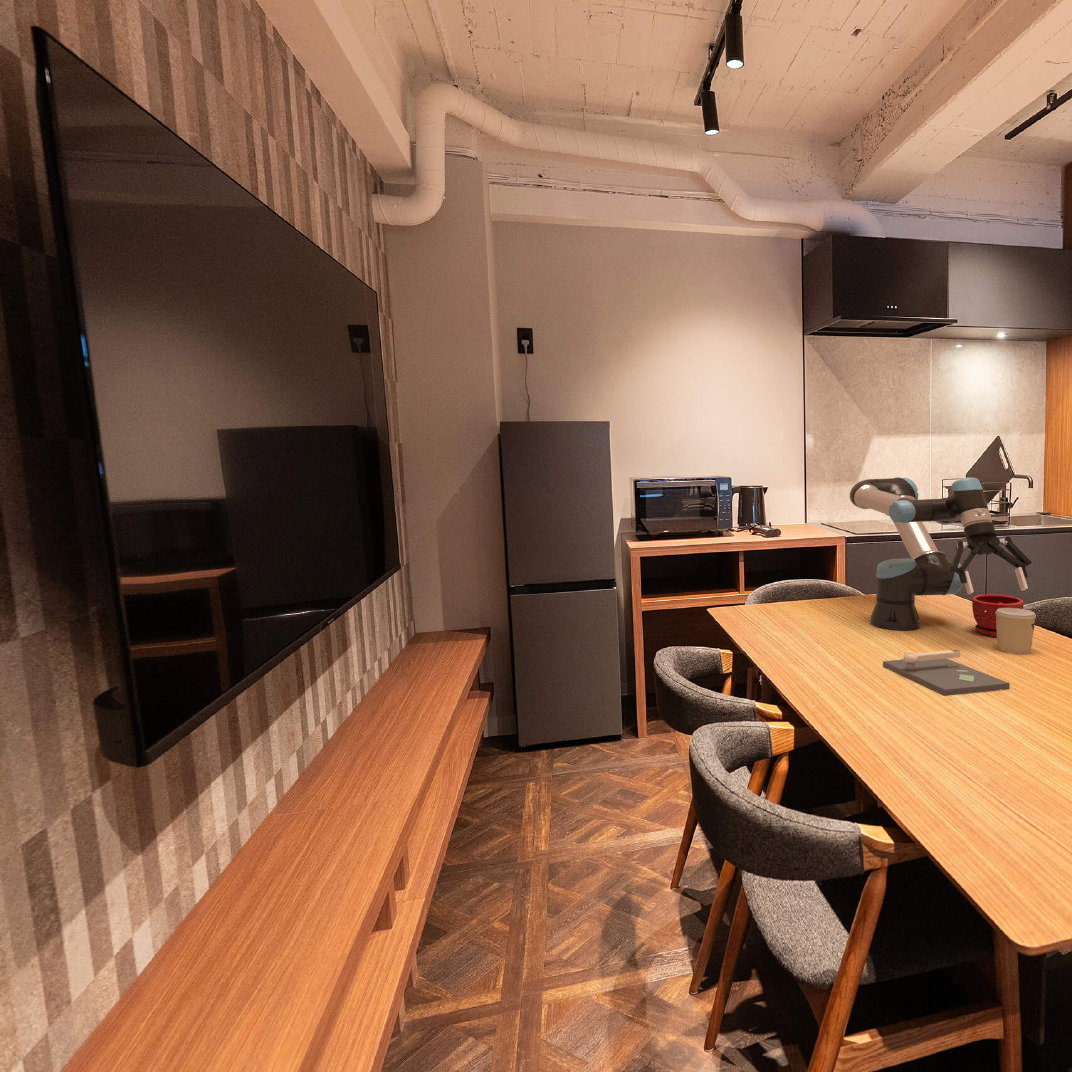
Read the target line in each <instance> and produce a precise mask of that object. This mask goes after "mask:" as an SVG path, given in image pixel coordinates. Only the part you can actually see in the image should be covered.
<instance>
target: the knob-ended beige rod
mask: <svg viewBox="0 0 1072 1072" xmlns="http://www.w3.org/2000/svg"><path fill="white" fill-rule="evenodd" d="M946 658H947V659H955V658H956V659H957V658H961V651H960V650H958V649H950V650H949V649H948V650H937V651H927V652H916V653H914V652H904V653H903V659H904V661H905V662H909V663H917V661H925V660H936V659H946Z"/></svg>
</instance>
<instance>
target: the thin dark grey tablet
mask: <svg viewBox="0 0 1072 1072" xmlns="http://www.w3.org/2000/svg"><path fill="white" fill-rule="evenodd" d="M882 667H884V668H885V669H888V670H889V671H892V672H894V673H896V674H898V675H900V676H902V677H904V678H907V679H909V680H911V681H913V682H915V683H918V684H920V685H922V686H924V687H925V688H928V689H930V690H933V691H935V692H937V693H938V694H940V695H943V696H951V695H960V694H961V695H963V694H971V693H981V692H982V691H983V692H989V691H990V692H991V691H1001V690H1000V689H1003V690H1009V689H1010V686H1011V685H1010V684H1011V683H1010V682H1008V681H1005V680H1003V679H1000V678H998V677H995V676H993V675H989V674H988V673H985V672H982V671H980V670H977V669H975V668H972V667H969V666H967V665H964V664H962V663H959V662H957V661H954V660H952V659H950V658H946V659H936V660H925V661H917V663H909V662H905V661H904V658H903V659H894V660H883V661H882Z"/></svg>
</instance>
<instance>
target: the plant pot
mask: <svg viewBox="0 0 1072 1072" xmlns="http://www.w3.org/2000/svg"><path fill="white" fill-rule="evenodd" d="M971 598H972V599H971V608H972V614H973V618H974V621H975V622H976V624H975V627H974V628H975V630H976V631H977V632H978V633H980V634H983V635H986V636H990V637H996V638H997V628H996V613H995V612H996V611H997V609H999V608H1018V609H1024V600H1023V599H1021V598H1019V597H1016V596H1011V595H1004V594H980V595H976V596H973V597H971Z"/></svg>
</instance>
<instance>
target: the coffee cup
mask: <svg viewBox="0 0 1072 1072" xmlns="http://www.w3.org/2000/svg"><path fill="white" fill-rule="evenodd" d="M995 613H996V628H997V637H996V640H997V641H996V644H997V645H996V646H997V649H998V650H999V649H1000V651H1001V652H1004V651H1005V652H1004V653H1009V652H1010V654H1018V655H1028V654H1030V653H1031V650H1032V645H1033V644H1032V643H1033V637H1034V630H1035V621H1036V617H1037V615H1036V613H1035V612H1034V611H1032V610H1030V609H1024V608H1023V609H1018V608H999V609H997V611H996V612H995Z"/></svg>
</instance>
